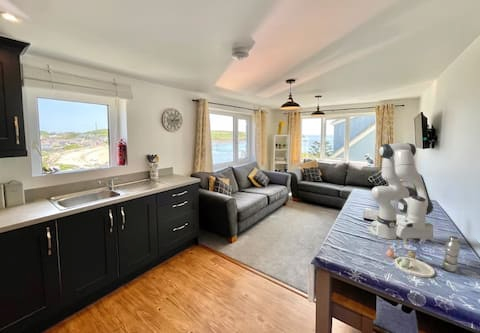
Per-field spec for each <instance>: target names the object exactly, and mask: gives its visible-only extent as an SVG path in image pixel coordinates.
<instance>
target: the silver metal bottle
mask: <svg viewBox="0 0 480 333" xmlns="http://www.w3.org/2000/svg"><path fill="white" fill-rule="evenodd" d="M458 242H459V237H456V236H453V235H449V238H448V240H447V241H446V243H445V244H444V250H445V252H444V253H445V254H444V258H443V261H442V263H441V265H442V268H443V269H444V270H446V271H447V272H451V273H456V271H458V257H459V254H460V252H461V245H460V244H459V243H458Z"/></svg>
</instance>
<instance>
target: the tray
mask: <svg viewBox="0 0 480 333" xmlns="http://www.w3.org/2000/svg"><path fill="white" fill-rule="evenodd" d="M402 258H407V259H409V260H410V265H409V269H404V268H402V267H401V265H402ZM394 265H395V267H397V269H399V270H400V271H402V272H405V273H406V274H408V275H410V276H411V275H412V276H414V277H418V278H425V279H426V278H432V277H434V276H435V275H436V272H435V270H434V267H432V266H431V265H429V264H428V263H427V262H424V261H422V260H420V259H417V258H415V259H413V258H408V256H399V257H396V258H395V259H394Z"/></svg>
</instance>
